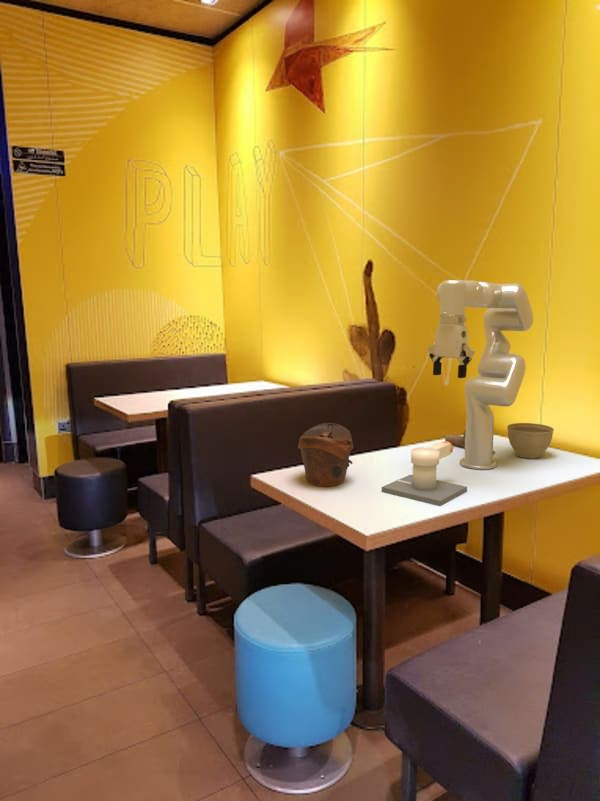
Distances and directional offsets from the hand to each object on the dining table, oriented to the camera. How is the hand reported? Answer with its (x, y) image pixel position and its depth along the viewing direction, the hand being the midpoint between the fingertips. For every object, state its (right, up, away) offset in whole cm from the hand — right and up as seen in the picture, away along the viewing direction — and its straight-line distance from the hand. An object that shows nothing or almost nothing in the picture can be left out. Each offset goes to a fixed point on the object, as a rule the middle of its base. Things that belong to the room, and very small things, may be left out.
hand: (449, 376), depth 185 cm
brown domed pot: (-38, -34, +9) cm, 52 cm away
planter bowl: (+39, -29, +38) cm, 62 cm away
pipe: (+18, -26, +51) cm, 60 cm away
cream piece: (-5, -26, 0) cm, 27 cm away
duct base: (-8, -36, -2) cm, 37 cm away
